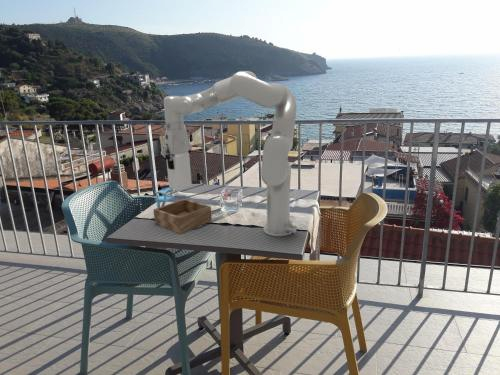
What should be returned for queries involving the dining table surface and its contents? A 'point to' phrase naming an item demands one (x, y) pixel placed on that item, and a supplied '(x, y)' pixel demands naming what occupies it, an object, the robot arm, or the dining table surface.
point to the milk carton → (180, 172)
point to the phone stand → (164, 197)
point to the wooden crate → (182, 215)
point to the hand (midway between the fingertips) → (178, 166)
